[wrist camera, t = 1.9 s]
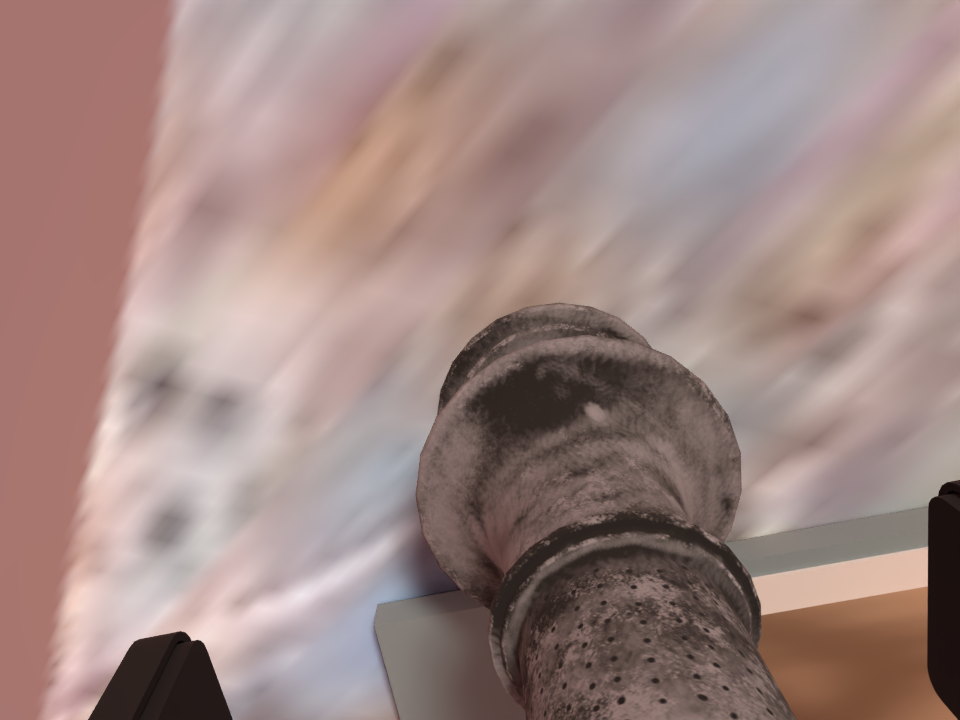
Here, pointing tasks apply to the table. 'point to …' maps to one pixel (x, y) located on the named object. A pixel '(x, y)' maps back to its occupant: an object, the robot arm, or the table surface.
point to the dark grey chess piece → (595, 523)
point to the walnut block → (854, 659)
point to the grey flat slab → (769, 559)
